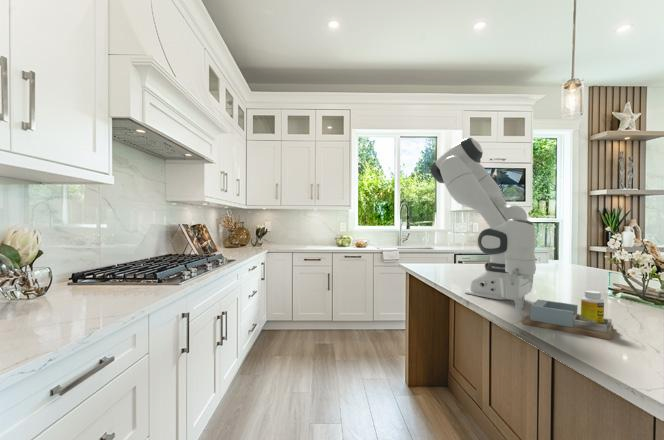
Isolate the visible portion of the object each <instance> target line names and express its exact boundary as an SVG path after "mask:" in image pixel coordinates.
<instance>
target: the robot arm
mask: <svg viewBox="0 0 664 440" xmlns="http://www.w3.org/2000/svg"><path fill="white" fill-rule="evenodd" d="M482 158H483V149H482V146H481V144H480V143H479V141H477V140H476V139H473V138H472V137H465V138H463V139H462V140H460V141H459V142H457V144H454V145H453V146H451V147H450V148H449V149H447V151H445V152H444V153H443V154H442V155H440V157H439V158H438V159H437V160H434V162H433V163H431V165H430V167H429V169H430V171H429V172H430V174H431V175H432V177H433V179H434V180H435V181H436V182H438V183H440V184H444V186H445V188H446V189H447V191H448V193H449V194H450V196H451V197H452V199H453V200H454V201H455V202H456V203H458V204H460V205H461V206H465V207H467V208H470V209H471V210H474V211H476V212H477V213H478V214H479V215H480V216H481V217H482V218H483V220H484V221H485V222H486V224H487V225H488V227H489V228H485V229H483V230H482V231H481V232H480V233H479V235H478V237H477V245H478V248H479V250H480V251H481V252H482V253H483V254H485V255H489V261H488V262H486V263H485V264H484V269H485V270H483V271H481V272H480V273H479V274H477V275H476V276H474V277H473V278H472V280H471V283H470V287H468V288H465V290H464V293H465V295H466V294H468V295H473V296H478V297H484V298H488V299H494V300H511V301H514V304H515V305H514V309H515V310H516V311H521V310H522V309H523V308H524V302H525V296H526V295H528V294H530V293H532V289H533V284H534V276H535V274H536V269H537V267H536V256H535V250H536V247H537V242H536V241H537V236H536V235H537V234H536V228H535V224H534V223H533V222H532V221H530V220H529V219H528V214H527V212H526V210H525V209H524V208H523V207H521V206H519V205H517V204H513V203H507V201H506V199H505V198H504V195H503V194H502V191H501V188H500V186H499V184H498V183H497V182H496V181H495V179H494V178H493V177H492V176H491V174H490V173H489V172H488V171H487V170H486V168H485V167H484V166H483V165H482V164H481V159H482Z"/></svg>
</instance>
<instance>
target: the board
mask: <svg viewBox="0 0 664 440" xmlns="http://www.w3.org/2000/svg"><path fill="white" fill-rule="evenodd" d="M530 317H531V312H530V313H528V314H527V315H526V316H525V317H524V318H522V325H527V326H532V327H533V326H534V327H538V328H539V327H540V328H544V329H550V330H554V329H555V331H560V330H561V332H565V331H567V333H571V334H577V335H583V336H587V337H588V336H589V337H593V338H594V337H595V338H599V339H605V340H610V341H612V339H613V333H614V324H613V323H612V321H613V320H612V318H605V317H604V324H599V323H593V322H586V321H581V313H579V314H578V313H577V314H574V315H573V327H567V326H561V325H555V324H550V323H544V322H538V321H532V320H530Z"/></svg>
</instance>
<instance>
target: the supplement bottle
mask: <svg viewBox="0 0 664 440" xmlns="http://www.w3.org/2000/svg"><path fill="white" fill-rule="evenodd" d="M583 295H584V296H582V297H581V299H580V305H581V306H580V315H581V321H586V322H593V323H599V324H604V318H605V301H604V299H603V298H602V292H601V291H597V290H596V291H595V290H584V294H583Z"/></svg>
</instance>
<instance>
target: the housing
mask: <svg viewBox="0 0 664 440" xmlns="http://www.w3.org/2000/svg"><path fill="white" fill-rule="evenodd" d="M578 306H579V305H578V304H575V303H574V304H573V303H567V302H560V301H552V300H545V299H537V300H535V302H533V303H532V304H531V305H530V313H531V317H530V320H532V321H538V322H544V323H550V324H555V325H561V326H567V327H573V315H574V314H578V308H579V307H578Z"/></svg>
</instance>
